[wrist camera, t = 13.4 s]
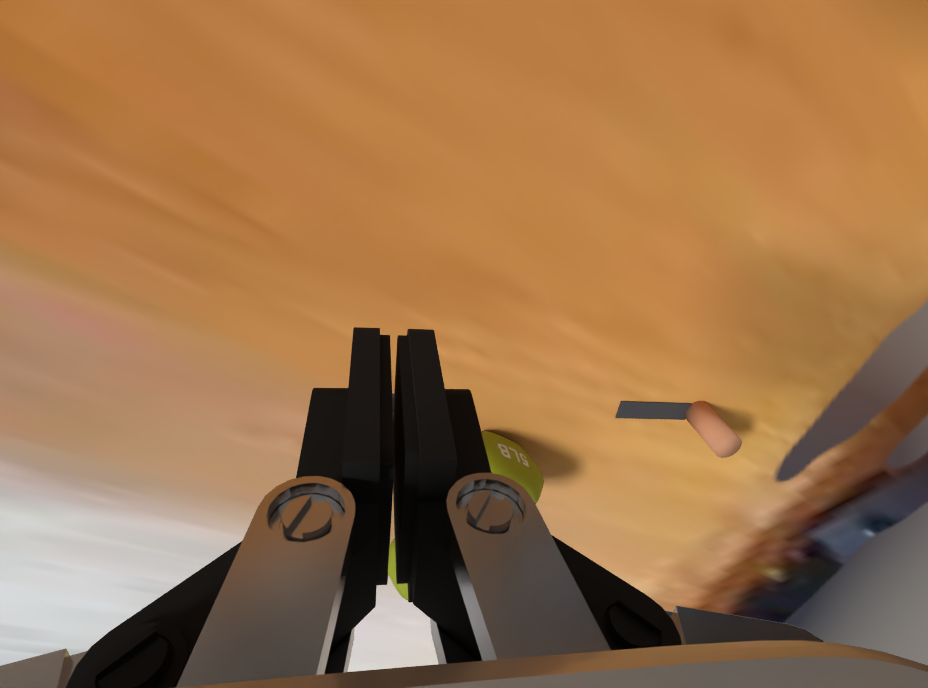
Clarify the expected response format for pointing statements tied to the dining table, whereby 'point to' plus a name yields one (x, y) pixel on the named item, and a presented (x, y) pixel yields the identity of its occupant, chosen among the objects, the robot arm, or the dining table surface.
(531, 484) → the dumbbell
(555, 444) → the dining table surface
